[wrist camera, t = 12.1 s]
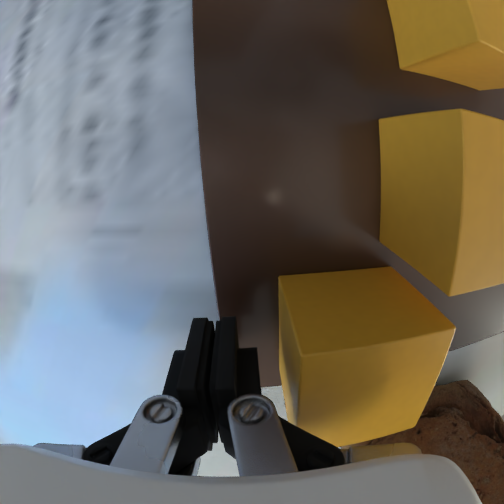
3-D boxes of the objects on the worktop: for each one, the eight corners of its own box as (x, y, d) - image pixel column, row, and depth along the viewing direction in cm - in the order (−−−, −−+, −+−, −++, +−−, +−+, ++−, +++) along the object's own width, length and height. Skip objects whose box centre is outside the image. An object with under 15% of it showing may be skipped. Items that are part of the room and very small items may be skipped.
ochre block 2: (379, -23, 7) (433, -75, 3) (461, 6, 7) (523, -19, 3) (399, 69, 9) (479, 40, 4) (479, 91, 9) (556, 86, 4)
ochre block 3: (377, 118, 10) (461, 107, 5) (467, 130, 10) (549, 136, 5) (378, 242, 11) (448, 297, 7) (463, 234, 11) (536, 274, 7)
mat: (194, -83, 6) (193, -86, 6) (510, -7, 6) (512, -8, 6) (230, 385, 14) (229, 389, 14) (511, 325, 14) (514, 327, 14)
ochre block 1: (278, 275, 12) (300, 355, 7) (391, 265, 12) (457, 327, 7) (279, 369, 13) (293, 454, 9) (375, 356, 13) (414, 427, 9)
